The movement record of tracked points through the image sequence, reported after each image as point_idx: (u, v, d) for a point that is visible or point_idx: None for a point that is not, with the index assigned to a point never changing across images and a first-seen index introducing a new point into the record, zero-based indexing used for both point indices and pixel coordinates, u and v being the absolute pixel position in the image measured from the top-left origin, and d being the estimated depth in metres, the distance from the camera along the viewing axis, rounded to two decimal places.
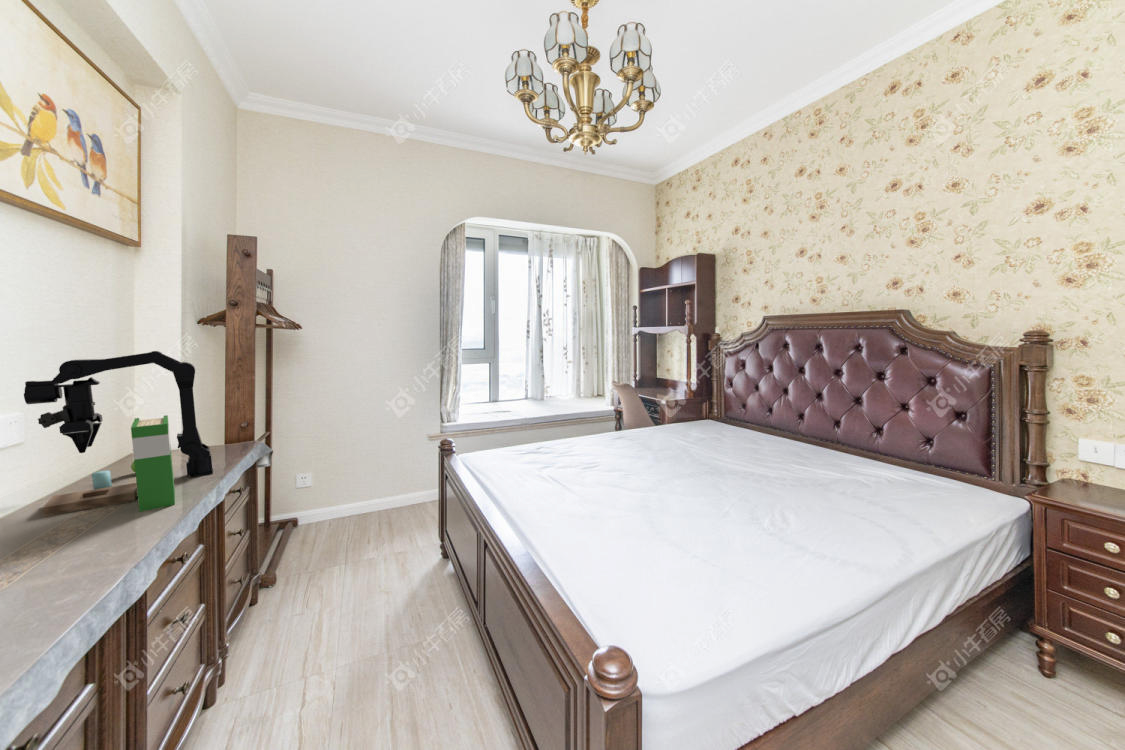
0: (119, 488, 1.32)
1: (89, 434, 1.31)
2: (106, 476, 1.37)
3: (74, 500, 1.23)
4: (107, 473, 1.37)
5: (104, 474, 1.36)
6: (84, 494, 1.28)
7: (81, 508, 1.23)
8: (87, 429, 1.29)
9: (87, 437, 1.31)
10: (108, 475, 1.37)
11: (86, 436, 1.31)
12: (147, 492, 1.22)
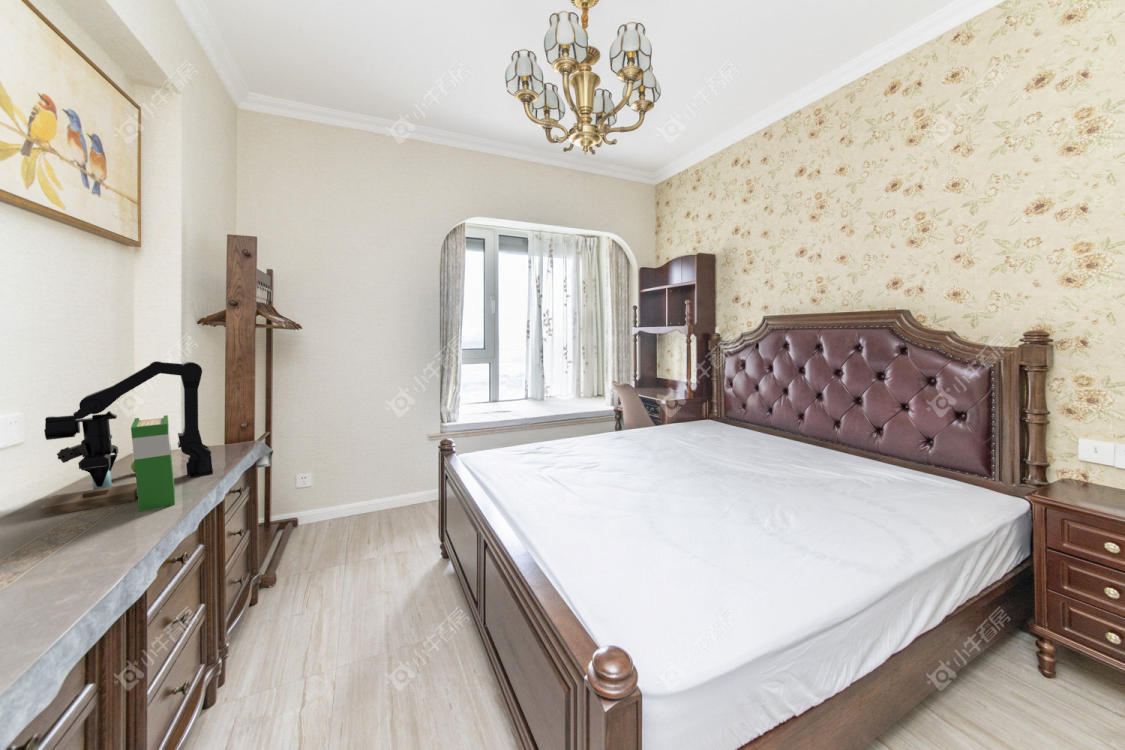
0: (119, 488, 1.32)
1: (107, 468, 1.33)
2: (106, 476, 1.37)
3: (74, 500, 1.23)
4: (107, 473, 1.37)
5: None
6: (84, 494, 1.28)
7: (81, 508, 1.23)
8: (105, 464, 1.31)
9: (105, 471, 1.33)
10: (108, 475, 1.37)
11: (104, 470, 1.33)
12: (147, 492, 1.22)
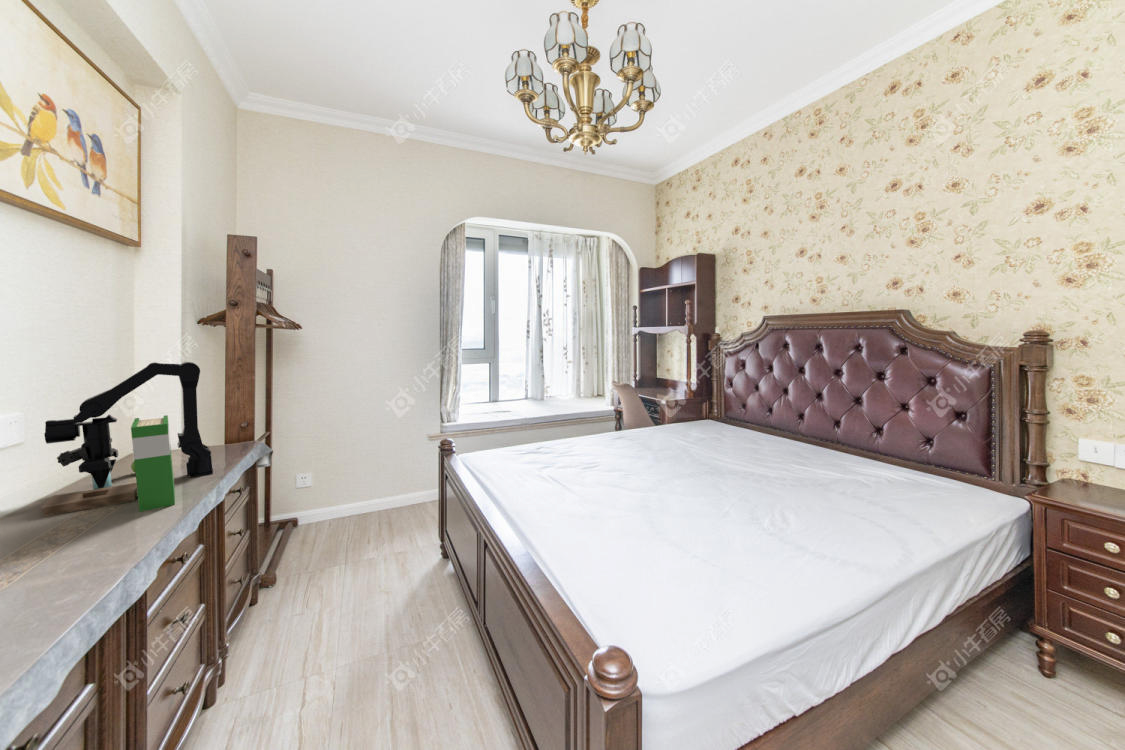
0: (119, 488, 1.32)
1: (108, 470, 1.35)
2: None
3: (74, 500, 1.23)
4: None
5: None
6: (84, 494, 1.28)
7: (81, 508, 1.23)
8: (105, 468, 1.31)
9: (106, 473, 1.35)
10: (108, 475, 1.37)
11: (105, 472, 1.35)
12: (147, 492, 1.22)
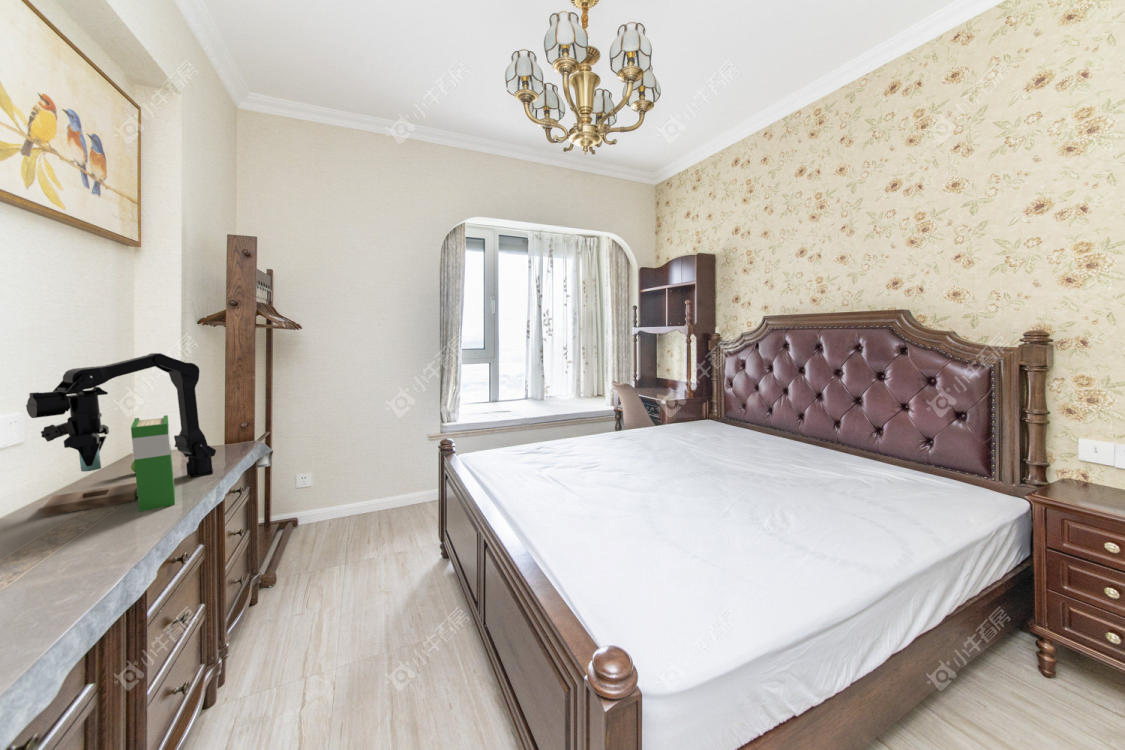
0: (119, 488, 1.32)
1: (97, 446, 1.25)
2: None
3: (74, 500, 1.23)
4: None
5: None
6: (84, 494, 1.28)
7: (81, 508, 1.23)
8: (93, 443, 1.21)
9: (95, 449, 1.25)
10: (97, 452, 1.27)
11: (94, 448, 1.25)
12: (147, 492, 1.22)
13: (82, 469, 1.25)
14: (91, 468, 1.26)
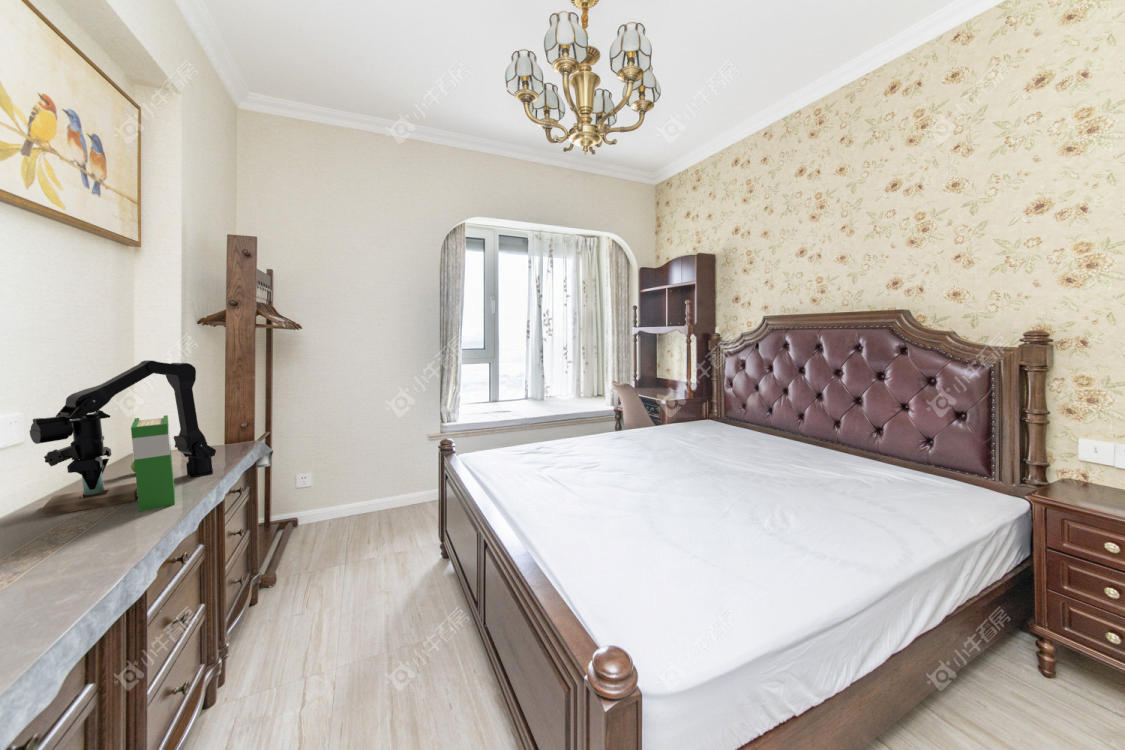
0: (119, 488, 1.32)
1: (100, 470, 1.25)
2: None
3: (74, 500, 1.23)
4: None
5: None
6: None
7: (81, 508, 1.23)
8: (96, 467, 1.21)
9: (98, 473, 1.25)
10: (100, 475, 1.28)
11: (97, 472, 1.25)
12: (147, 492, 1.22)
13: (85, 492, 1.26)
14: (94, 491, 1.26)
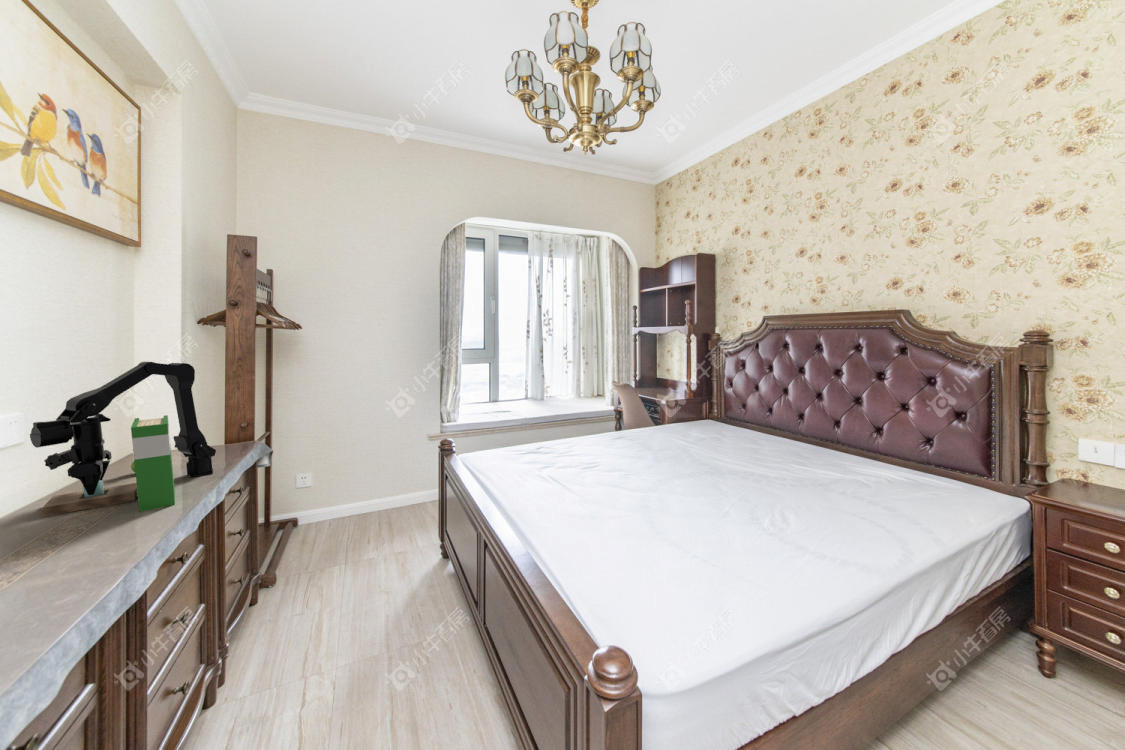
0: (119, 488, 1.32)
1: (99, 475, 1.24)
2: (98, 486, 1.27)
3: (74, 500, 1.23)
4: (99, 483, 1.28)
5: None
6: None
7: (81, 508, 1.23)
8: (97, 471, 1.21)
9: (97, 478, 1.24)
10: (100, 485, 1.28)
11: (96, 477, 1.24)
12: (147, 492, 1.22)
13: None
14: None
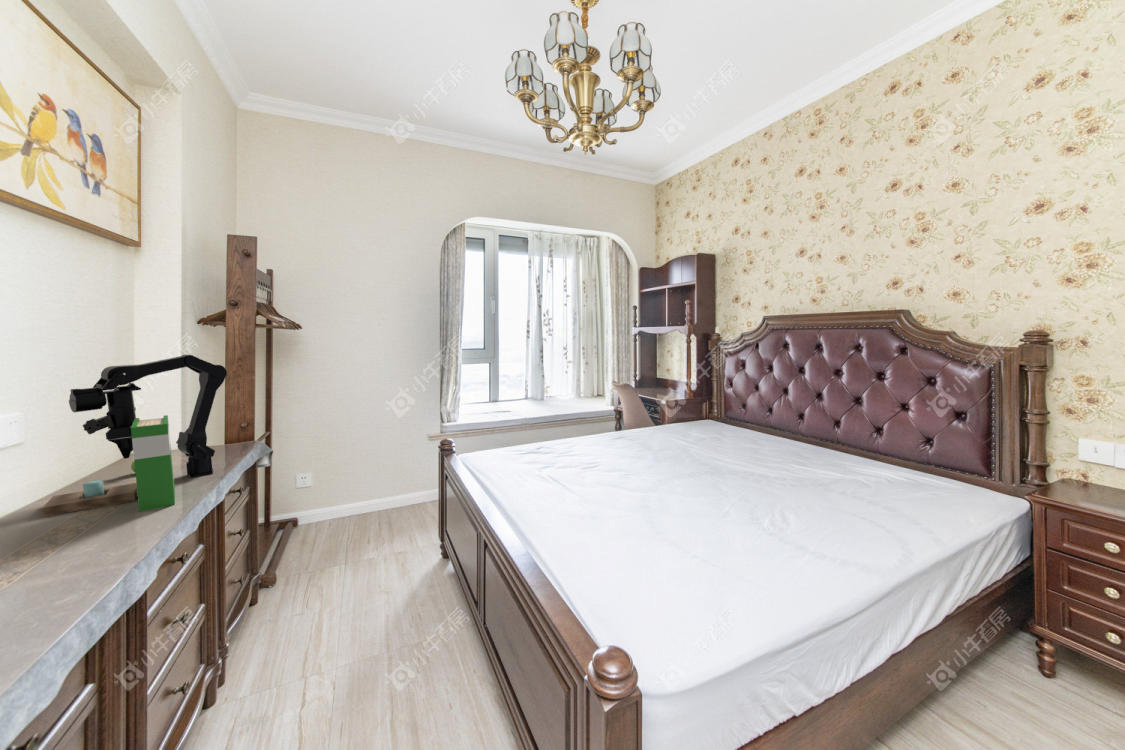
0: (119, 488, 1.32)
1: None
2: (98, 486, 1.27)
3: (74, 500, 1.23)
4: (99, 483, 1.28)
5: (96, 484, 1.27)
6: None
7: (81, 508, 1.23)
8: None
9: (131, 443, 1.32)
10: (100, 485, 1.28)
11: (130, 442, 1.32)
12: (147, 492, 1.22)
13: None
14: None
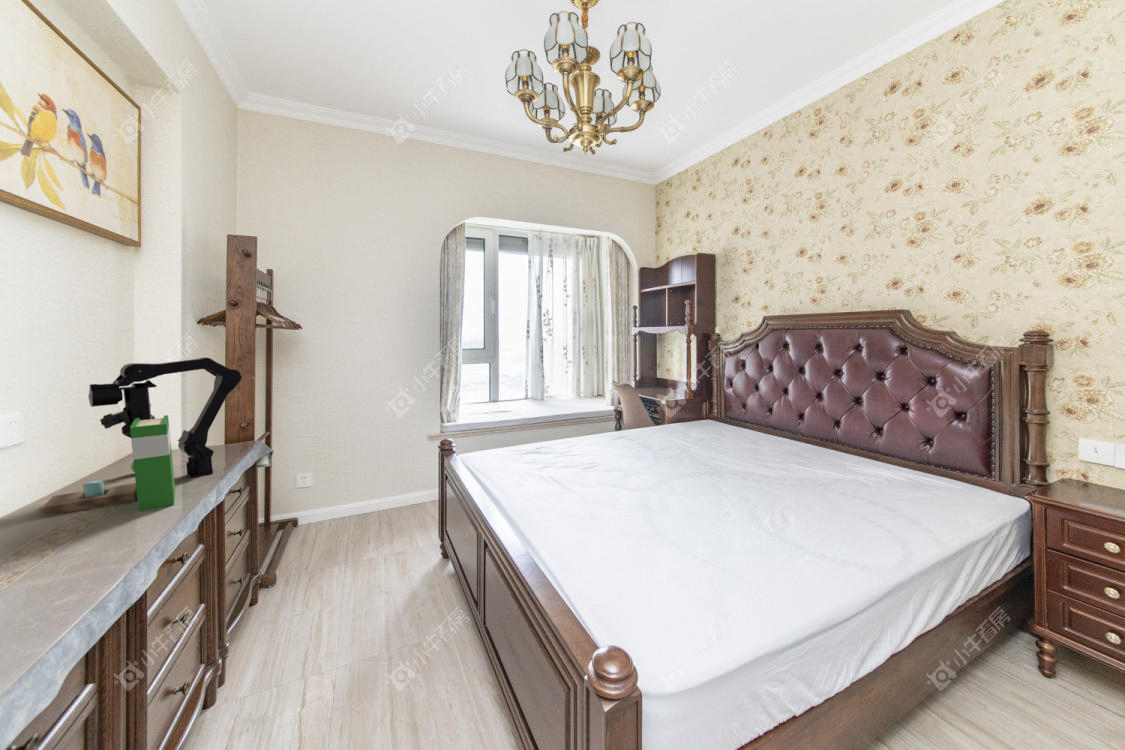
0: (119, 488, 1.32)
1: None
2: (98, 486, 1.27)
3: (74, 500, 1.23)
4: (99, 483, 1.28)
5: (96, 484, 1.27)
6: None
7: (81, 508, 1.23)
8: None
9: None
10: (100, 485, 1.28)
11: None
12: (146, 492, 1.22)
13: None
14: None
